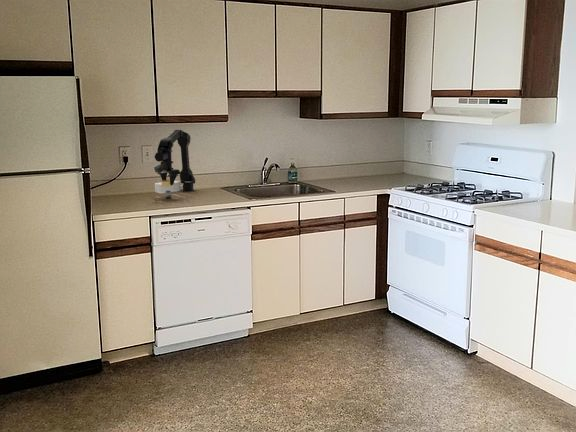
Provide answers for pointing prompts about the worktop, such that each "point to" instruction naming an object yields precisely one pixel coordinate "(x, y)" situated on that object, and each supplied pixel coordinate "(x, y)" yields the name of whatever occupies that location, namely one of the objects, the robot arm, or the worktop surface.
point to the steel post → (168, 194)
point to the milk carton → (168, 187)
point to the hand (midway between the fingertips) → (168, 184)
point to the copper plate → (175, 196)
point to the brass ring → (166, 183)
